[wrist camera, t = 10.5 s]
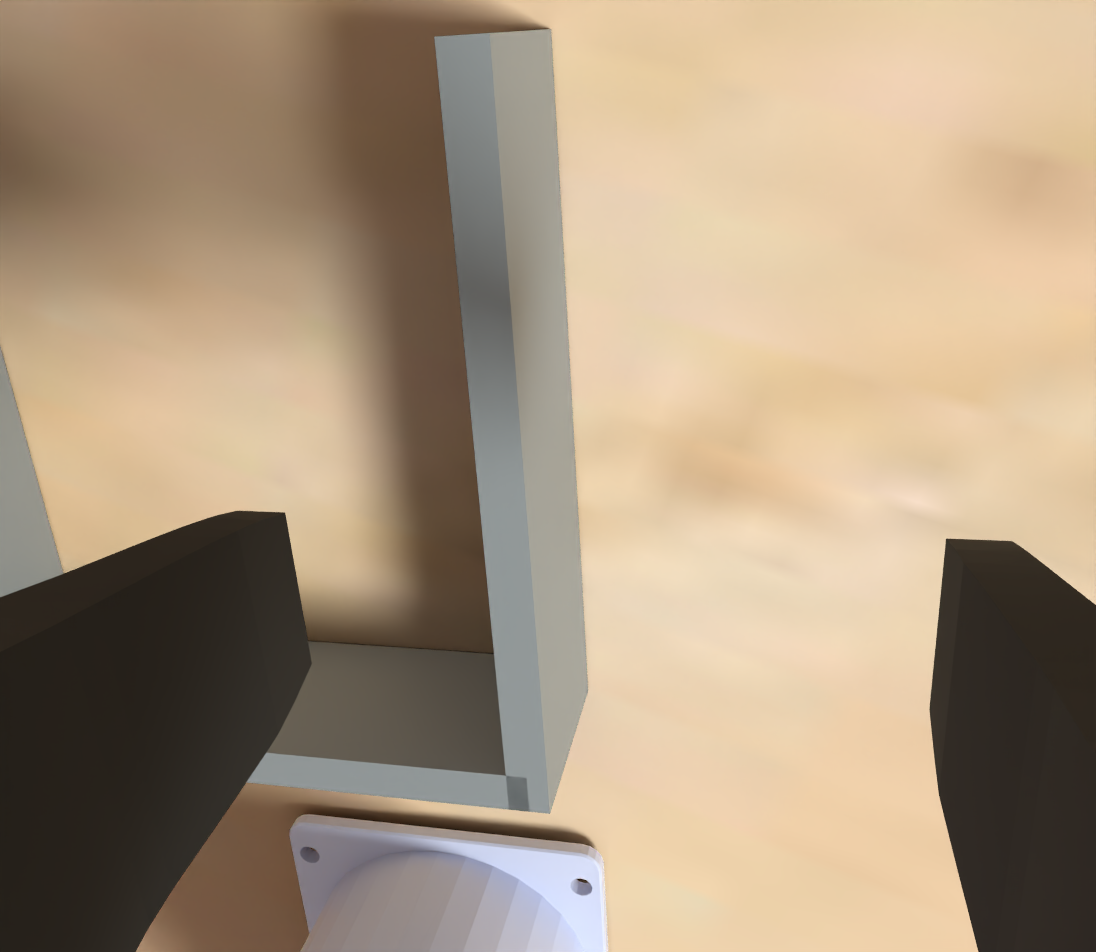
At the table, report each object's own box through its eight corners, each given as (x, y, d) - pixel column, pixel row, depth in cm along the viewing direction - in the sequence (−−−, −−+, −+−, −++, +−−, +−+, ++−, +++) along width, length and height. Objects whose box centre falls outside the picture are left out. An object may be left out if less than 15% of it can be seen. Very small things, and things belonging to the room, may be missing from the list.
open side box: (588, 691, 23) (550, 813, 20) (57, 650, 26) (-60, 751, 23) (550, 28, 18) (489, 32, 14) (-110, 73, 21) (-297, 86, 17)
